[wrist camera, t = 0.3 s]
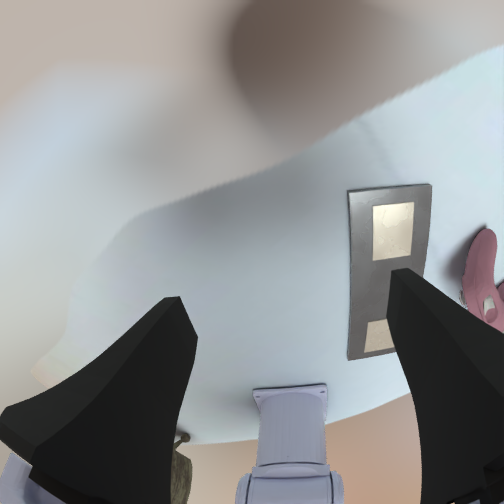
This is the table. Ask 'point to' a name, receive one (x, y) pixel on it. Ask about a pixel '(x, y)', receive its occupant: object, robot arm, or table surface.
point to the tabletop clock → (180, 474)
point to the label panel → (383, 257)
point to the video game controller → (483, 281)
